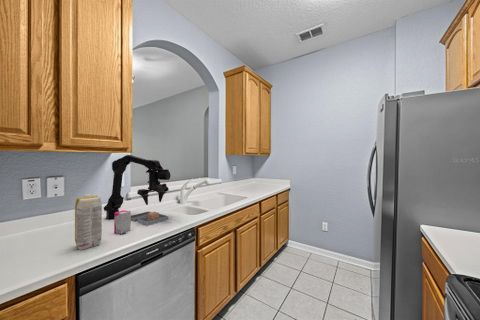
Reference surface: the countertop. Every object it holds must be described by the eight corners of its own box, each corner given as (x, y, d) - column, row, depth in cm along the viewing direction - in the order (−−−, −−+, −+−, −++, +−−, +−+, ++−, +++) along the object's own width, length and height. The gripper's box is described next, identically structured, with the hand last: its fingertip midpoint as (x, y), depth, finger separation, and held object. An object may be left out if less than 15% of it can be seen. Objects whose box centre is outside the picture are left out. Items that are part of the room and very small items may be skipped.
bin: (135, 222, 122) (135, 219, 122) (126, 219, 127) (126, 216, 127) (156, 216, 135) (156, 213, 135) (148, 214, 140) (148, 211, 140)
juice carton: (98, 240, 96) (98, 192, 96) (102, 244, 91) (103, 194, 90) (73, 246, 89) (73, 195, 88) (77, 252, 84) (77, 197, 83)
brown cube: (152, 222, 121) (152, 214, 120) (147, 221, 123) (147, 213, 123) (159, 220, 125) (159, 212, 125) (154, 219, 127) (154, 211, 127)
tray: (146, 226, 115) (146, 222, 115) (137, 223, 120) (137, 219, 120) (168, 219, 128) (168, 216, 128) (159, 217, 133) (159, 213, 133)
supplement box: (131, 230, 108) (131, 210, 108) (121, 234, 102) (121, 213, 102) (123, 229, 110) (123, 209, 110) (113, 233, 104) (113, 212, 104)
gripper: (147, 182, 112) (147, 208, 112) (173, 179, 127) (173, 202, 127) (136, 180, 118) (136, 205, 118) (163, 178, 133) (163, 200, 133)
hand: (153, 203), depth 124 cm, fingers open, 9 cm apart
